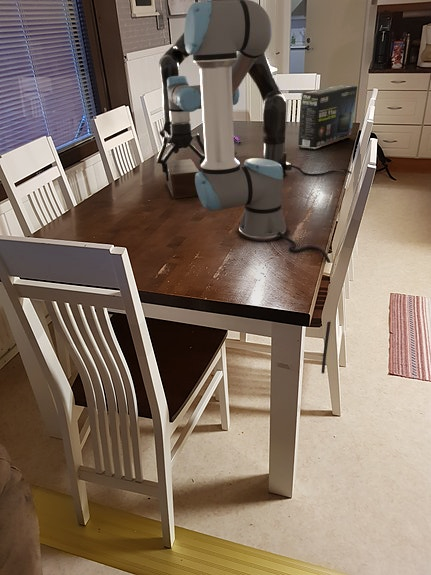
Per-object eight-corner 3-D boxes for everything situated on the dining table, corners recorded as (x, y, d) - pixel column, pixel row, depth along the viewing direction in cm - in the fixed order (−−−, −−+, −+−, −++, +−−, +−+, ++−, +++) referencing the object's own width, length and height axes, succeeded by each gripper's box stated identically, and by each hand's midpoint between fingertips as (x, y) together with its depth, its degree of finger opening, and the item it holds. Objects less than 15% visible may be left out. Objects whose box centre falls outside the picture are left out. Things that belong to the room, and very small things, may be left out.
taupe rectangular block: (167, 184, 195) (164, 161, 190) (192, 181, 197) (190, 159, 192) (173, 198, 180) (171, 174, 175) (200, 195, 182) (199, 171, 177)
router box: (314, 151, 231) (318, 94, 217) (296, 148, 237) (299, 92, 224) (352, 138, 251) (358, 85, 238) (335, 135, 258) (340, 83, 245)
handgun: (220, 136, 265) (220, 133, 264) (233, 135, 266) (233, 132, 265) (227, 145, 248) (227, 141, 247) (241, 143, 249) (241, 140, 248)
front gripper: (211, 117, 174) (213, 172, 185) (145, 122, 170) (151, 178, 181) (215, 121, 168) (217, 177, 179) (147, 127, 164) (153, 184, 175)
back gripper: (186, 107, 190) (189, 149, 199) (154, 109, 188) (159, 152, 197) (189, 110, 184) (192, 153, 193) (157, 112, 181) (161, 156, 190)
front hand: (184, 178), depth 180 cm, fingers open, 13 cm apart
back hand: (175, 152), depth 195 cm, fingers closed
